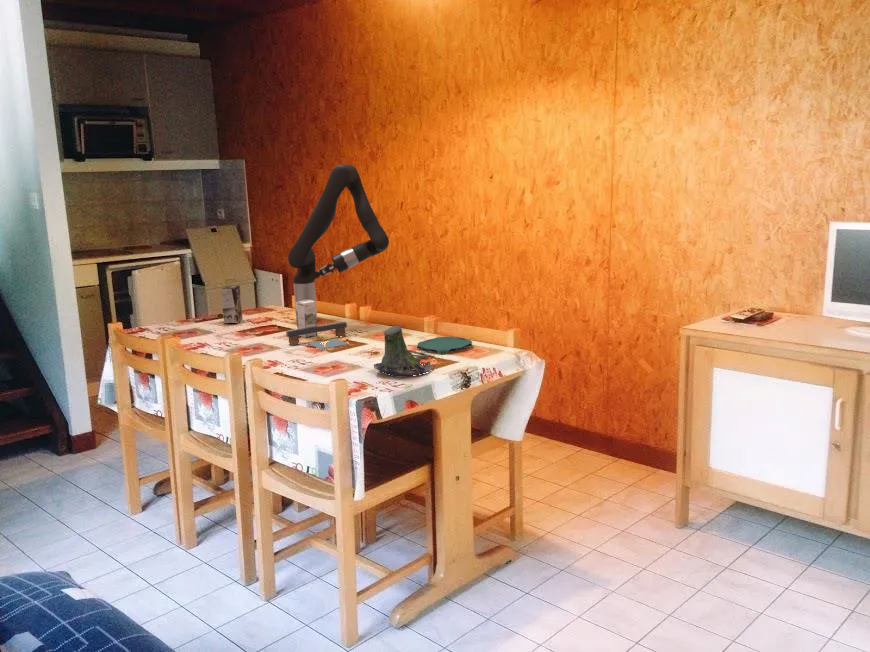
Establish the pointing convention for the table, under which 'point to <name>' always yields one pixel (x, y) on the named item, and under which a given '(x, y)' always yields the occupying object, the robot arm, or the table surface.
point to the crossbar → (316, 329)
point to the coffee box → (231, 304)
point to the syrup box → (306, 315)
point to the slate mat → (329, 343)
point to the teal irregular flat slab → (441, 345)
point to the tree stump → (399, 356)
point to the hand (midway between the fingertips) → (310, 278)
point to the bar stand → (338, 332)
